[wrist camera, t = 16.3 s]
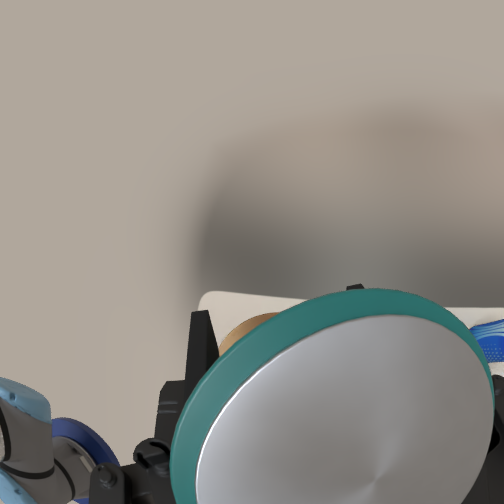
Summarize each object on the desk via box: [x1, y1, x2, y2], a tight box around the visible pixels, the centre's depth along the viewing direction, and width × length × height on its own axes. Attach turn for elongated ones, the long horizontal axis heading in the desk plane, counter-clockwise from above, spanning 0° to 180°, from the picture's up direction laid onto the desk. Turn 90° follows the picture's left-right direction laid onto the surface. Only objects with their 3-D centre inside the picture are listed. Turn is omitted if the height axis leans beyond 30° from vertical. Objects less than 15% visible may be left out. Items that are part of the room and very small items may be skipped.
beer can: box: [469, 319, 504, 363], centre depth 37 cm, size 8×8×16 cm
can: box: [169, 288, 495, 504], centre depth 11 cm, size 6×6×17 cm
